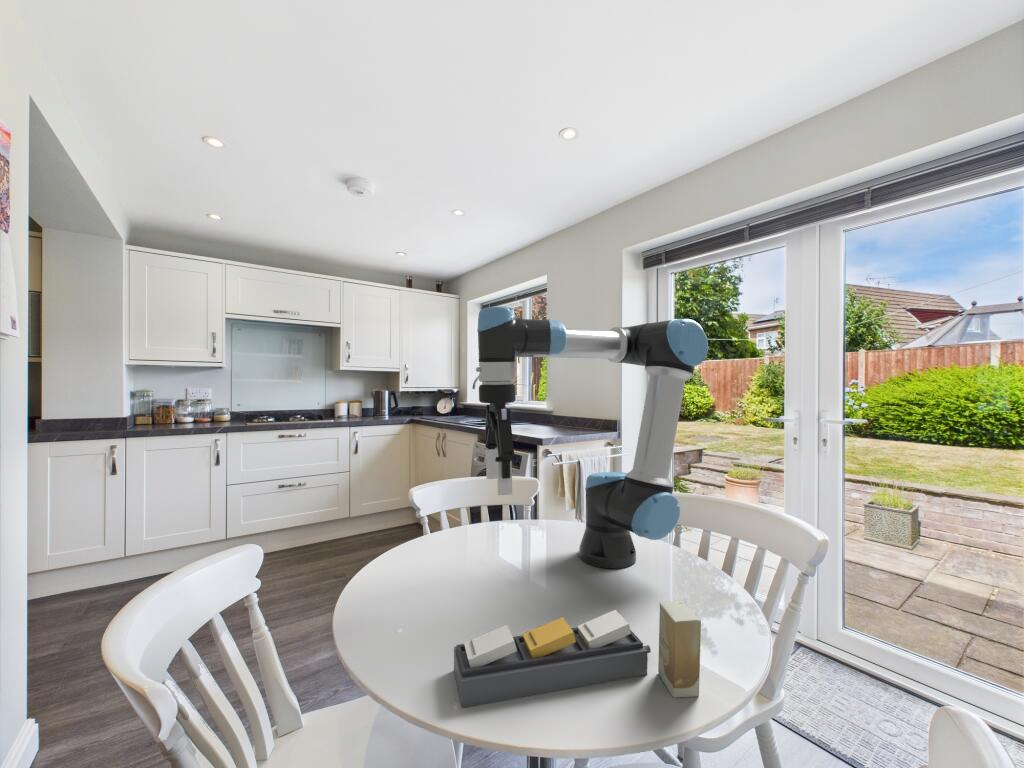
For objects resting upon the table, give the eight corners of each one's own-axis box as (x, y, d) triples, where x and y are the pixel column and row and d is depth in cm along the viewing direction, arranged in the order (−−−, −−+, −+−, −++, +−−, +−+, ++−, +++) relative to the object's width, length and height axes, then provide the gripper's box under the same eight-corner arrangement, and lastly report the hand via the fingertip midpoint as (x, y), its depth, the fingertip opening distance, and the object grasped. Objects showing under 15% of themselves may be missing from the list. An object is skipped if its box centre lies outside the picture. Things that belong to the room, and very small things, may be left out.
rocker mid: (565, 626, 80) (562, 615, 80) (576, 641, 75) (573, 630, 75) (524, 643, 78) (522, 632, 78) (533, 660, 74) (530, 649, 73)
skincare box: (657, 672, 77) (657, 600, 77) (682, 671, 77) (682, 599, 77) (674, 699, 70) (674, 621, 70) (701, 698, 71) (701, 619, 71)
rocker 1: (509, 634, 78) (506, 623, 77) (517, 651, 73) (514, 639, 73) (466, 652, 76) (463, 641, 76) (471, 670, 71) (467, 658, 71)
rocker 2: (617, 618, 82) (615, 608, 82) (631, 633, 78) (628, 622, 78) (579, 635, 81) (576, 624, 81) (591, 651, 76) (588, 640, 76)
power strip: (635, 641, 86) (636, 616, 86) (663, 671, 77) (663, 643, 77) (453, 670, 77) (453, 642, 77) (461, 707, 69) (461, 676, 69)
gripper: (471, 382, 106) (472, 473, 106) (489, 385, 81) (490, 504, 82) (503, 381, 107) (504, 472, 108) (530, 384, 83) (531, 501, 84)
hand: (498, 486), depth 95 cm, fingers open, 13 cm apart
